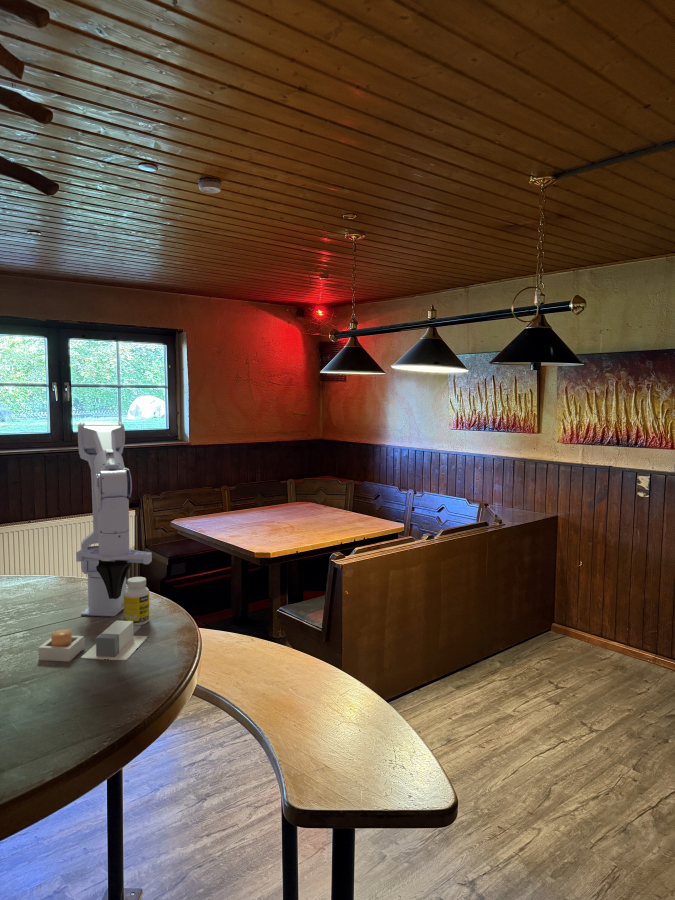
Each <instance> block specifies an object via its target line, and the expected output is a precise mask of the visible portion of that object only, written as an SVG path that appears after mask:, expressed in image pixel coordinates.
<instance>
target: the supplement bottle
mask: <svg viewBox="0 0 675 900" xmlns="http://www.w3.org/2000/svg"><path fill="white" fill-rule="evenodd" d="M123 621H133V626H143V625H145V624H147V623H148V622H149V621H150V589H149V588H148V587H147V578H146V577H143V576H134V577H129V578H128V579H126V590H125V591H124V608H123Z"/></svg>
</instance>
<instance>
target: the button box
mask: <svg viewBox="0 0 675 900" xmlns="http://www.w3.org/2000/svg"><path fill="white" fill-rule="evenodd" d="M84 649H85V636H83V635H72V643H71V644H70V645H69V646H68V647H58V646H52V640H51V637H50V638H49V639H47V640H46V641H45V642H44V643H42V644H41V645H39V646H38V651H37V652H38V661H49V662H50V661H51V662H71V661H72V660H73V659H74V658H76V657H77V655H78V654H79V653H81V652H82V651H83V650H84ZM80 651H81V652H80Z"/></svg>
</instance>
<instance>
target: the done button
mask: <svg viewBox="0 0 675 900" xmlns="http://www.w3.org/2000/svg"><path fill="white" fill-rule="evenodd" d="M72 632H73V631H72V630H70V629H59V630H56V631H53V632H52V633H51V634H50V635H51V637H50V638H51V640H52V646H58V647H68V646H69V645H70V644H71V643H72V636H73V635H72Z"/></svg>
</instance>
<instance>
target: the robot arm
mask: <svg viewBox="0 0 675 900" xmlns="http://www.w3.org/2000/svg"><path fill="white" fill-rule="evenodd" d="M125 442H126V430H125V424H124V423H123V422H122V421H118V422H83V421H80V422H79V423H78V425H77V445H78V454H79V458H80V459H81V460H84V461H86V462H87V463H88V466H89V469H90V476H91V478H90V479H91V499H92V500H91V502H92V503H91V504H92V506H91V507H92V529H93V530H92V532H90V533H89V534H88V535H87V536H86V537H84V538H83V539H82V542H81V543H80V547H81V548H80V550H78V551H76V552H75V553H76V562H77V563H78V562H79V563H80V568H81V573H83V575H87V595H88V596H87V602H88V603H87V605H88V607H86V608H85V609H84V610H82V611H81V612H80V615H82V616H96V617H97V616H98V617H115V616H116V615H118V614H119V613H120V612H121V611H122V610H124V591H125V590H126V589H127V574H128V572H129V570H130V568H131V566H132V563H133V564H135V563H137V564H143V565H150V563H152V561H153V560H152V559H153V555H152V554H153V553H152V552H150V551H142V550H135V549H130V507H129V506H130V501H129V499H131V497H132V490H133V484H132V482H133V481H132V475H131V472H130V469H129V468H127V467H125V462H124V458H123V455H122V454H123V452H124V448H125ZM95 544H98V545H95ZM92 545H93V546H92Z"/></svg>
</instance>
